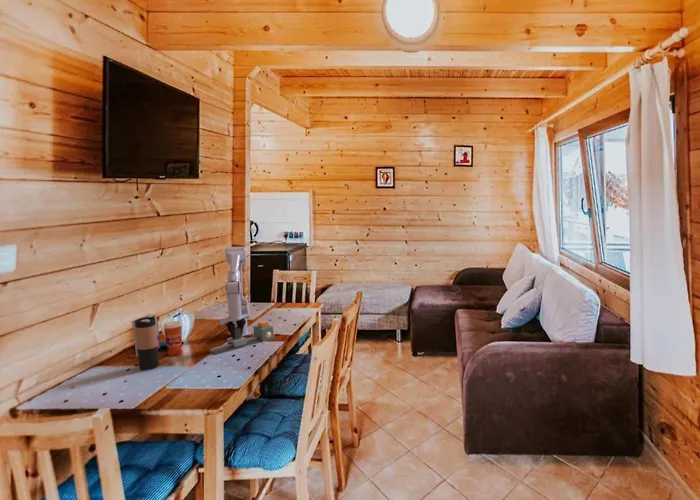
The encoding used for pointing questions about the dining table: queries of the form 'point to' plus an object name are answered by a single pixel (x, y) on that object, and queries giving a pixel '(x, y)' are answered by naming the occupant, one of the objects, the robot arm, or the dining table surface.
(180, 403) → the dining table surface
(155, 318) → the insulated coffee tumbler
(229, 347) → the rail
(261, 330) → the cabinet
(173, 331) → the paper cup
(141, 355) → the travel mug
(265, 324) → the button
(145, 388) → the dining table surface
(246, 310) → the robot arm
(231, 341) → the carriage
